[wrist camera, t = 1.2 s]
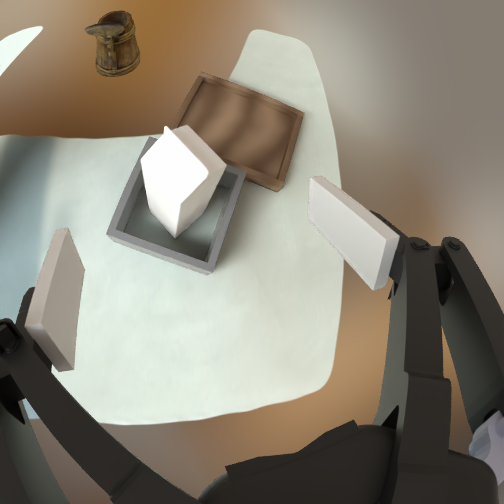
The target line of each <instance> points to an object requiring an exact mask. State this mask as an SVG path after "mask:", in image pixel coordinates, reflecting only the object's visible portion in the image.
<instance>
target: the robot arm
mask: <svg viewBox="0 0 504 504" xmlns="http://www.w3.org/2000/svg"><path fill="white" fill-rule="evenodd" d="M308 221H309V222H310V223H311V224H312V225H313V226H314V227H315V228H316V229H317V230H318V231H319V232H320V233H321V234H322V235H323V237H324V238H325V239H326V240H327V241H328V242H329V243H330V244H331V245H332V246H333V247H334V248H335V249H336V250H337V251H338V253H339V254H340V255H341V256H342V257H343V258H344V259H345V260H346V261H347V262H348V263H349V264H350V266H351V267H352V268H353V269H354V270H355V271H356V272H357V273H358V274H359V276H360V277H361V278H362V279H363V280H364V281H365V282H366V283H367V285H368V286H369V287H370V288H371V289H372V290H373V291H374V290H377V289H379V288H382V287H385V286H386V284H387V280H388V277H389V276H390V277H391V278H392V279H393V280H394V282H393V285H392V288H391V291H390V294H389V297H388V299H390V298H391V310H390V323H389V335H388V345H387V354H386V362H385V370H384V377H383V384H382V390H381V396H380V402H379V408H378V412H377V415H376V417H375V419H374V422H373V425H359V426H357V424H356V423H355V421H354V420H352V421H350V422H348V423H346V424H343V425H341V426H339V427H336V428H334V429H332V430H330V431H328V432H325V433H324V434H322V435H321V436H320V437H318V438H317V439H316V440H314V441H313V442H312V443H310V444H309V445H307V446H306V447H304V448H303V449H302V450H300V451H298V452H296V453H292V454H283V455H275V456H263V457H256V458H253V459H250V460H246V461H243V462H239V463H236V464H232V465H228V466H225V468H226V471H227V473H225V474H223V475H221V476H220V477H218V478H217V479H215V480H214V481H213V482H212V483H210V484H209V485H208V486H207V487H206V488H205V490H204V491H203V492H202V494H201V495H200V497H199V498H198V500H197V499H195V498H193V497H192V496H190V495H189V494H187V493H186V492H184V491H183V490H181V489H180V488H178V487H177V486H175V485H174V484H172V483H171V482H169V481H168V480H167V479H165V478H164V477H163V476H161V475H160V474H159V473H157V472H156V471H154V470H153V469H152V468H151V467H149V466H148V465H146V464H145V463H144V462H143V461H142V460H140V459H139V458H138V457H137V456H135V455H134V454H133V453H132V452H131V451H129V450H128V449H127V448H126V447H125V446H123V445H122V444H121V443H120V442H119V441H118V440H117V439H115V438H114V437H113V436H112V435H111V434H110V433H109V432H108V431H107V430H106V429H104V428H103V427H102V426H101V425H100V424H99V423H98V422H97V421H96V420H95V419H94V418H93V417H92V416H91V415H90V414H89V413H88V412H87V411H86V410H85V409H84V408H83V407H82V406H81V405H80V404H79V403H78V402H77V401H76V400H75V399H74V397H73V396H72V395H71V394H70V393H69V392H68V391H67V390H66V389H65V388H64V386H63V385H62V384H61V383H60V382H59V381H58V380H57V378H56V377H55V376H54V375H53V374H52V373H51V368H52V364H53V366H54V367H55V368H56V369H57V371H58V372H62V371H68V370H74V362H75V347H76V335H77V324H78V315H79V307H80V299H81V292H82V285H83V279H84V273H85V269H84V266H83V264H82V262H81V259H80V257H79V254H78V252H77V249H76V247H75V244H74V242H73V239H72V236H71V234H70V231H69V228H68V227H67V228H63V229H60V230H56V231H55V233H54V236H53V238H52V241H51V243H50V246H49V249H48V251H47V254H46V257H45V260H44V262H43V265H42V268H41V271H40V274H39V277H38V280H37V283H36V287H32V288H29V289H28V291H27V292H26V294H25V295H24V297H23V300H22V303H21V307H20V310H19V314H18V317H17V320H16V324H14V323H13V321H12V320H11V319H8V318H4V319H1V320H0V504H70V503H69V502H68V500H67V498H66V497H65V495H64V493H63V491H62V490H61V488H60V486H59V484H58V482H57V480H56V478H55V477H54V475H53V473H52V471H51V469H50V467H49V465H48V463H47V461H46V458H45V456H44V454H43V452H42V450H41V448H40V446H39V443H38V441H37V438H36V436H35V433H34V431H33V429H32V426H31V424H30V421H29V418H28V415H27V413H26V410H25V407H24V404H23V401H22V400H23V399H25V398H26V399H27V401H28V402H29V403H30V405H31V406H32V408H33V409H34V411H35V412H36V413H37V415H38V416H39V417H40V419H41V420H42V421H43V423H44V424H45V425H46V427H47V428H48V429H49V430H50V432H51V433H52V434H53V435H54V437H55V438H56V439H57V440H58V441H59V443H60V444H61V445H62V446H63V448H64V449H65V450H66V451H67V452H68V453H69V454H70V456H71V457H72V458H73V459H74V460H75V461H76V462H77V463H78V464H79V465H80V466H81V468H82V469H83V470H84V471H85V472H86V473H87V474H88V475H89V476H90V477H91V478H92V479H93V480H94V481H95V482H96V483H97V484H98V485H99V486H100V487H101V488H102V489H104V490H105V491H106V492H107V493H108V494H109V496H110V500H111V501H112V502H113V503H114V504H499V499H498V485H499V484H500V483H501V482H502V481H503V480H504V314H503V312H502V310H501V308H500V306H499V304H498V302H497V300H496V298H495V296H494V294H493V292H492V291H491V289H490V287H489V285H488V283H487V281H486V280H485V278H484V276H483V275H482V272H481V271H480V269H479V267H478V266H477V264H476V262H475V261H474V259H473V257H472V256H471V254H470V252H469V251H468V249H467V248H466V246H465V245H464V244H463V243H462V242H461V241H459V239H457V238H454V237H445V238H443V240H442V243H441V246H431V245H430V244H429V243H428V242H427V241H425V240H423V239H421V238H418V237H410V238H408V237H407V236H406V235H405V234H403V233H402V232H401V231H400V230H398V229H397V228H396V227H394V225H392V224H391V223H390V222H389V221H387V220H386V219H385V218H383V217H382V216H381V215H380V214H378V213H375V212H373V211H368V210H367V209H365V208H364V207H363V206H362V205H361V204H359V203H358V202H357V201H355V200H354V199H353V198H351V197H350V196H349V195H347V194H346V193H345V192H344V191H342V190H341V189H340V188H338V187H337V186H336V185H334V184H333V183H331V182H330V181H329V180H327V179H326V178H325V177H323V176H315V177H310V189H309V207H308ZM453 281H454V283H453ZM441 325H442V328H443V331H444V334H445V337H446V340H447V343H448V346H449V349H450V353H451V357H452V360H453V363H454V367H455V370H456V374H457V378H458V382H459V386H460V390H461V394H462V399H463V403H464V407H465V412H466V415H467V419H468V423H469V425H470V428H471V431H472V433H473V442H472V443H471V444H470V446H469V453H470V454H471V455H472V456H475V457H472V456H468V455H465V454H462V453H459V452H455V451H452V450H449V449H448V448H449V436H450V421H451V382H450V380H449V379H448V378H444V376H443V347H442V328H441Z"/></svg>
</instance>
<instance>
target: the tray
mask: <svg viewBox="0 0 504 504" xmlns="http://www.w3.org/2000/svg"><path fill="white" fill-rule="evenodd" d="M303 115H304V113H303V112H301V111H299V110H297V109H295V108H293V107H290V106H288V105H286V104H284V103H281V102H279V101H277V100H275V99H272V98H270V97H267V96H265V95H263V94H260V93H258V92H255V91H253V90H250V89H248V88H245V87H243V86H240V85H237V84H235V83H232V82H229V81H227V80H223V79H221V78H218V77H215V76H212V75H210V74H206V73H204V72H201V73H200V75H199V76H198V78H197V79H196V81H195V83H194V85H193V87H192V88H191V90H190V92H189V93H188V95H187V97H186V99H185V101H184V103H183V104H182V106H181V108H180V110H179V112H178V114H177V115H176V118H175V119H174V121H173V123H172V125H171V127H170V130H173V129H176V128H179V127H182V126H185V125H188V126H189V127H190V128H191V129H192V130H193V131H194V132H195V133H196V134H197V135H198V136H199V137H200V138H201V139H202V140H203V141H204V142H205V143H206V144H207V145H208V146H209V147H210V148H211V149H212V150H213V151H214V152H215V153H216V154H217V155H218V156H219V157H220V158H221V160H222V161H223V162H224V163H225V164H228V165H231V166H233V167H236V168H238V169H241V170H243V171H246V172H247V173H246V176H245V180H248V181H250V182H253V183H255V184H258V185H260V186H263V187H265V188H268V189H270V190H273V191H275V192H278V191H279V190H280V189H281V188H282V187H283V184H284V180H285V177H286V173H287V170H288V167H289V163H290V160H291V156H292V153H293V150H294V146H295V143H296V139H297V136H298V133H299V129H300V126H301V122H302V119H303Z"/></svg>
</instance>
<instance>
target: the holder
mask: <svg viewBox="0 0 504 504" xmlns="http://www.w3.org/2000/svg"><path fill="white" fill-rule="evenodd" d="M157 140H158V139H155V138H152V137H149V138H148V140H147V142H146V144H145V146H144V148H143V150H142V152H141V154H140V156H139V158H138V161H137V163H136V165H135V167H134V169H133V171H132V173H131V176H130V178H129V180H128V182H127V184H126V187H125V189H124V191H123V194H122V196H121V198H120V201H119V203H118V205H117V208H116V210H115V213H114V215H113V218H112V220H111V223H110V225H109V228H108V230H107V233H106V234H107V235H108V236H109V237H110V238H111V239H112V240H113V241H114V242H116V243H119V244H122V245H124V246H127V247H130V248H132V249H135V250H138V251H141V252H143V253H146V254H149V255H151V256H154V257H157V258H160V259H163V260H165V261H168V262H171V263H174V264H177V265H179V266H182V267H185V268H188V269H191V270H194V271H196V272H199V273H202V274H205V275H208V274H211V273H213V270H214V267H215V264H216V261H217V258H218V255H219V252H220V249H221V246H222V243H223V240H224V237H225V234H226V231H227V228H228V225H229V222H230V219H231V216H232V213H233V211H234V208H235V205H236V202H237V199H238V196H239V193H240V190H241V187H242V185H243V182H244V179H245V176H246V173H247V172H246V171H243V170H241V169H238V168H236V167H233V166H231V165H228V164H226V165H227V166H226V168H225V170H224V172H223V174H222V176H221V178H220V180H219V182H218V185H221V186H224V187H226V188H229V189H230V190H229V192H228V195H227V198H226V201H225V204H224V206H223V209H222V212H221V215H220V218H219V221H218V223H217V226H216V229H215V232H214V235H213V238H212V241H211V244H210V247H209V250H208V253H207V256H206V259H205V262H204V261H201V260H199V259H196V258H193V257H190V256H187V255H184V254H182V253H179V252H176V251H173V250H170V249H168V248H165V247H162V246H159V245H157V244H154V243H151V242H148V241H146V240H143V239H140V238H137V237H135V236H132V235H129V234H126V233H124V231H125V228H126V225H127V223H128V220H129V218H130V215H131V213H132V210H133V208H134V205H135V203H136V200H137V198H138V196H139V193H140V191H141V189H142V186H143V184H144V177H143V172H142V166H141V158H142V157H143V156H144V155H145V154H146V152H147V151H148V150H149V149H150V148H151V147H152V146H153V145H154V143H155V142H156V141H157Z"/></svg>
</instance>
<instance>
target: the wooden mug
mask: <svg viewBox="0 0 504 504" xmlns="http://www.w3.org/2000/svg"><path fill="white" fill-rule="evenodd" d="M85 31H86V32H87V33H88V34H90V35H95V36H96V39H97V56H96V59H95V62H96V69H97V71H98V73H100V74H101V75H103V76H110V77H114V76H121V75H125V74H127V73H129V72H131V71H133V70H134V69H135V68H136V67H137V66H138V64H139V62H140V51H139V48H138V46H137V42H136V38H135V25H134V21H133V19H132V17H131V14H129V13H128V12H125V11H113V12H110V13H107V14H105V15H104V16H103V17H102V18H100V20H99V22H98V24H95V25H92V26H89V27H87V28H86V29H85Z"/></svg>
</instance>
